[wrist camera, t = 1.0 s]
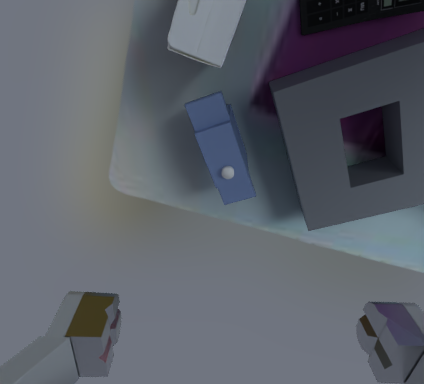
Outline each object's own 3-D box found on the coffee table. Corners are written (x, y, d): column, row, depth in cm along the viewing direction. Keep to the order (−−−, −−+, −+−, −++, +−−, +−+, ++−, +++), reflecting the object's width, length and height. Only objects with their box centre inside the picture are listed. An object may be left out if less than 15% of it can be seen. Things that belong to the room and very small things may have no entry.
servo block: (222, 79, 37) (220, 96, 31) (252, 172, 43) (256, 202, 37) (191, 90, 38) (182, 109, 31) (225, 180, 44) (224, 211, 38)
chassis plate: (436, 23, 33) (467, 27, 29) (436, 175, 42) (459, 195, 38) (268, 82, 37) (273, 92, 33) (301, 209, 46) (308, 231, 42)
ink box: (224, 53, 36) (221, 74, 26) (183, 36, 35) (163, 50, 25) (256, -35, 31) (267, -52, 21) (210, -56, 31) (199, -84, 21)
